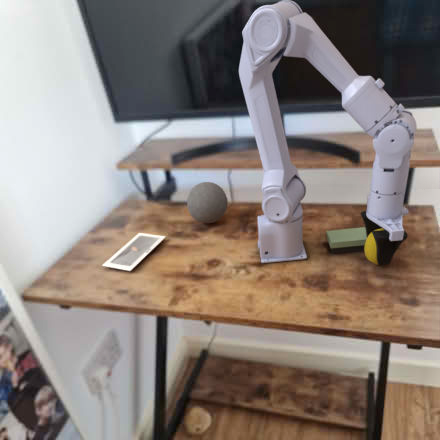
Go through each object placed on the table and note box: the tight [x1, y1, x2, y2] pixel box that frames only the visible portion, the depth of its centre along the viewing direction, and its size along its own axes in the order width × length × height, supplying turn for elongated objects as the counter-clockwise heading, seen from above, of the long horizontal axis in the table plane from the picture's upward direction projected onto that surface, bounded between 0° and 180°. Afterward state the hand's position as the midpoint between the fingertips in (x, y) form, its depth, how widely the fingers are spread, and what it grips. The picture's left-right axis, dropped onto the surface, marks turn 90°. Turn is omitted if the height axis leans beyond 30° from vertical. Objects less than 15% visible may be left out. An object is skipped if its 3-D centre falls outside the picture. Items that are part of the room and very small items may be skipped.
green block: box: [325, 226, 367, 255], centre depth 85 cm, size 14×5×3 cm, turn 90°
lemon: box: [363, 228, 384, 266], centre depth 77 cm, size 6×6×8 cm
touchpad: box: [101, 232, 167, 272], centre depth 93 cm, size 8×15×2 cm, turn 155°
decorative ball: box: [186, 181, 228, 224], centre depth 100 cm, size 10×10×10 cm
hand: (378, 254), depth 78 cm, fingers closed on lemon, 6 cm apart
